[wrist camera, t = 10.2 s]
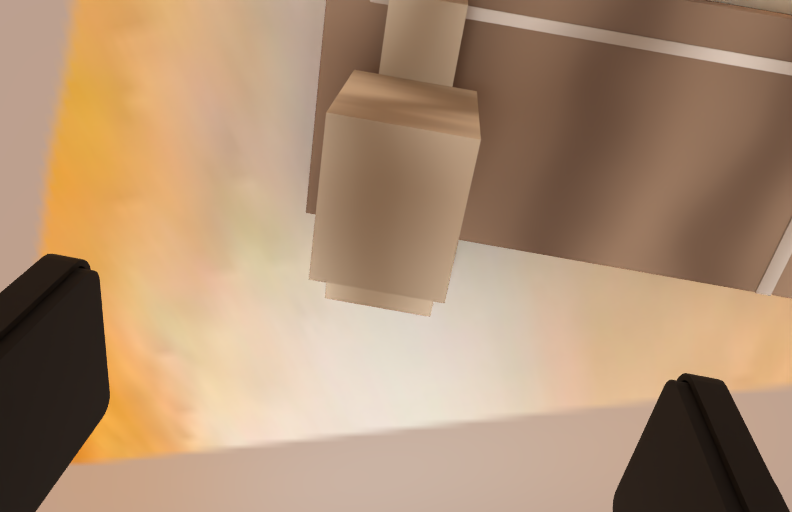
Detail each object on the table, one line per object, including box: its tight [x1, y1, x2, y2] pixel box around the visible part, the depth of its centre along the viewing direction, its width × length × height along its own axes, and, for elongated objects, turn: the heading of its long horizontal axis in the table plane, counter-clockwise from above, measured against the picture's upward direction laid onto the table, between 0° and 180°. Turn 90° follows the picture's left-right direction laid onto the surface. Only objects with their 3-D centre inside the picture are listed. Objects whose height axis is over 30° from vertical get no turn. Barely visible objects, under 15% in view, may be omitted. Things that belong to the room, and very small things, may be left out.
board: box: [306, 0, 792, 298], centre depth 25 cm, size 21×10×2 cm, turn 81°
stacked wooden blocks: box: [309, 0, 481, 317], centre depth 22 cm, size 4×11×9 cm, turn 171°
